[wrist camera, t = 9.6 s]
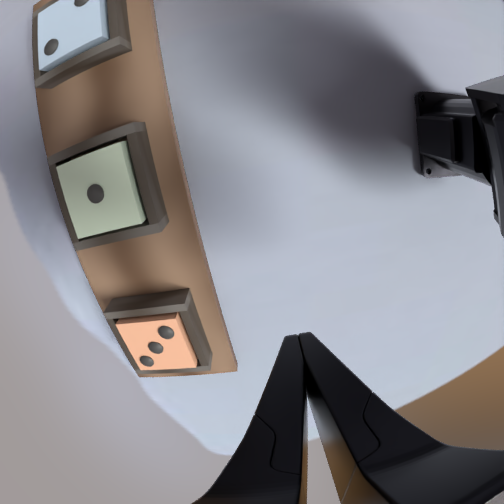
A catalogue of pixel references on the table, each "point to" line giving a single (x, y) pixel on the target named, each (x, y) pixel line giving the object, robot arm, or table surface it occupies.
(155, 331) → the tile
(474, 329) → the table surface
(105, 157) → the tile
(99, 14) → the tile
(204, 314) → the board
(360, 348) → the table surface
